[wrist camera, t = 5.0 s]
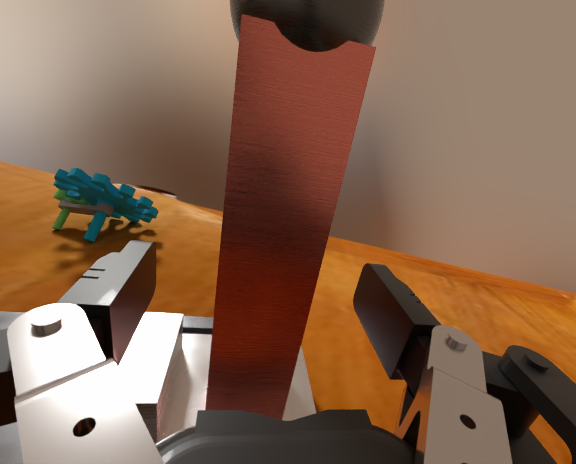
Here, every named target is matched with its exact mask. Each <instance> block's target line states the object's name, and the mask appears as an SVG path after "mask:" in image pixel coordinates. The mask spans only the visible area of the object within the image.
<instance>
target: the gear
mask: <svg viewBox="0 0 576 464" xmlns="http://www.w3.org/2000/svg"><path fill="white" fill-rule="evenodd" d="M54 185H55V186H56V187H57V188H58V190H57V192H56V193H55V195H54V198H56V199H58V200H60V201H61V202H60V204H59V206H58V207H59V208H61V209H62V211H61V213H60V214H59V216H58V218H57V220H56V222H55V223H54V225H53V227H52V228H54V229H57V230H61V228H62V226H63V224H64V223H65V221H66V219H67V217H68V215H69V213H70V212H72V213H79V214H87V215H95V216H94V218H93V220H92V222H91V224H90V226H89V228H88V230H87V232H86V234H85V236H84V238H83V239H84V240H86V241H89V242H95V240H96V238H97V236H98V233H99V231H100V229H101V227H102V225H103V223H104V221H105V219H106V217H110V216H111V217H114V218H119V219H120V217H121V215H122V216H124V217H125V218H127V219H128V220H129V221H131V222H139V220H140V219H141V220H143V221H145V222H148V223H150V222H151V220H152V218H156V217H157V214H158V210H157V209H156V208H154V207H151V206H152V204H153V201H151V200H150V199H148V198H146V197H143V196H141V197H140V199H139V200H137V199H134V198H132V197H133V195H134V192H135V189H134V188H132V187H130V186H128V185H125V184H122V185H121V187H120V189H117V188H116V187H115V186H113V185H112V184H111V182H110V178H109V177H108V176H106V175H102V174H98V173H95V174H94V176H93V178H91V177H90V176H88V175H87V174H86V173H85V172H84V171H82V170H81V169H78V168H72V169H71V170H70V172H69V173H68V172H66V171H64V170H61V169H59V170H58V172H57V173H56V175H55V182H54Z"/></svg>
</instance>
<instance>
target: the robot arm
mask: <svg viewBox="0 0 576 464" xmlns="http://www.w3.org/2000/svg"><path fill="white" fill-rule="evenodd" d="M155 286H156V244H155V242H149V241H139V240H131V241H129V243H128V244H127V245H126V246H125V247H124V249H123V250H122V251H121V252H120V253H117V252H112V253H110V254H108V255H106V256H104V257H102V258H100V259H98V260H97V261H96V262H95V263H94V264H93V265H92V266H91V267H90V270H88V271H87V272H86V273H85V274H84V275H83V277H82V278H80V279H79V280H78V281H77V282H76V283H75V284H74V285H73V286H72V287H71V288H70V289H69V291H68V292H67V293H66V294H65V295H64V296H63V297H62V298H61V299H60V300H59V301H58V302H57V303H56V304H50V305H46V306H42V307H38V308H35V309H33V310H30V311H28V312H26V313H24V314H23V315H21V316H19V317H18V318H17V319H15V320H14V321H13V322H12V323H11V325H10V326H9V327H8V329H3V330H0V426H4V425H8V424H12V423H15V422H17V423H18V430H19V437H20V444H21V450H22V457H23V464H557V463H556V462H555V461H554V459H553V458H552V457H551V456H550V454H549V453H548V452H547V451H546V449H545V448H544V447H543V446H542V444H541V443H540V442H539V441H538V440H537V438H536V437H535V436H534V435H533V433H532V432H531V431H530V430H529V427H530V426H531V424H532V423H533V422H534V420H535V419H536V418H537V417H538V415H539V414H541V415H542V417H543V418H544V419H545V420H546V421H547V422H548V423H549V424H550V426H551V427H552V428H553V429H554V430H555V431H556V432H557V434H558V435H559V436H560V437H561V438H562V439H563V440H564V442H565V443H566V444H567V446H568V448H569V450H570V452H571V455H572V464H576V384H575V383H574V382H573V381H572V380H571V379H570V378H569V377H567V376H566V375H565V374H564V373H563V372H562V371H561V370H560V369H559V368H558V367H556V366H555V365H554V364H553V363H552V362H551V361H549V360H548V359H546V358H545V357H543V356H542V355H540V354H538V353H536V352H534V351H532V350H530V349H528V348H525V347H521V346H516V345H512V346H509V347H508V348H507V350H506V351H505V353H504V355H503V356H502V357H501V356H497V355H494V354H490V353H487V352H483V351H482V350H481V348H480V347H479V345H478V344H477V343H476V342H475V341H474V340H473V339H472V338H471V337H470V336H468V335H467V334H465V333H464V332H462V331H460V330H458V329H455V328H453V327H450V326H445V325H441V324H440V323H439V322H438V321H437V319H436V318H435V317H434V316H433V315H432V314H431V312H430V311H429V310H428V309H427V308H426V307H425V305H424V304H423V303H421V301H420V300H419V298H418V297H417V296H415V294H414V293H413V292H412V290H411V289H410V288H409V287H408V286H407V285H406V284H404V283H403V282H401V281H400V280H399V279H397V278H396V277H395V276H394V275H393V273H392V272H391V271H390V270H389V269H388V267H387V266H385V265H379V264H369V263H367V264H365V265H364V267H363V269H362V272H361V275H360V278H359V281H358V284H357V287H356V291H355V294H354V299H353V305H354V309H355V312H356V314H357V316H358V318H359V320H360V322H361V324H362V325H363V327H364V329H365V331H366V333H367V335H368V337H369V339H370V341H371V343H372V345H373V347H374V349H375V351H376V353H377V355H378V357H379V359H380V361H381V363H382V365H383V367H384V369H385V371H386V373H387V375H388V377H389V379H394V380H405V381H406V383H407V384H406V386H405V388H404V390H403V394H402V398H401V403H400V407H399V412H398V417H397V421H396V426H395V430H394V434H392V433H390V432H388V431H386V430H384V429H382V428H379V427H377V426H374V425H372V424H371V422H370V419H369V416H368V414H367V411H366V410H325V411H322V412H318V413H315V414H312V415H308V416H305V417H302V418H298V419H295V420H291V421H284V420H280V419H276V418H272V417H268V416H264V415H260V414H256V413H252V412H248V411H244V410H198V413H197V419H196V425H195V426H193V427H190V428H186V429H184V430H181V431H179V432H176V433H174V434H172V435H170V436H169V437H167V438H165V439H163V440H161V441H160V442H158V443H157V444H154V442H153V439H152V437H151V435H150V433H149V431H148V429H147V427H146V425H145V423H144V421H143V419H142V417H141V415H140V413H139V411H138V408H137V406H136V404H135V402H134V400H133V398H132V396H131V394H130V392H129V390H128V388H127V386H126V384H125V382H124V380H123V378H122V375H121V373H120V371H119V369H118V366H119V364H120V362H121V360H122V358H123V356H124V354H125V352H126V350H127V348H128V346H129V344H130V342H131V340H132V338H133V336H134V334H135V332H136V330H137V328H138V326H139V324H140V322H141V320H142V317H143V315H144V313H145V311H146V309H147V307H148V305H149V303H150V301H151V299H152V297H153V294H154V291H155Z"/></svg>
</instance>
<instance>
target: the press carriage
mask: <svg viewBox="0 0 576 464" xmlns="http://www.w3.org/2000/svg"><path fill="white" fill-rule="evenodd" d="M230 7H231V8H230V9H231V17H232V22H233V27H234V30H235V33H236V37H237V39H238V41H239V49H238V60H237V70H236V82H235V93H234V103H233V114H232V124H231V135H230V146H229V147H230V148H229V157H228V168H227V179H226V189H225V200H224V211H223V222H222V232H221V243H220V254H219V265H218V276H217V286H216V297H215V308H214V319H213V330H212V335H209V334H184V333H183V314H173V313H154V312H145V313H144V315H143V317H142V320H141V322H140V324H139V326H138V328H137V330H136V332H135V334H134V336H133V338H132V340H131V342H130V344H129V346H128V348H127V350H126V352H125V354H124V356H123V358H122V360H121V362H120V364H119V366H118V369H119V371H120V373H121V375H122V378H123V380H124V382H125V384H126V386H127V388H128V390H129V392H130V394H131V396H132V398H133V400H134V402H135V404H136V406H137V408H138V411H139V413H140V415H141V417H142V419H143V421H144V423H145V425H146V427H147V429H148V431H149V433H150V435H151V437H152V439H153V442H154V444H157V443H158V442H160V441H161V440H163V439H165V438H167V437H169V436H170V435H172V434H174V433H176V432H179V431H181V430H184V429H186V428H190V427H193V426H195V425H196V419H197V413H198V410H244V411H248V412H252V413H256V414H260V415H264V416H268V417H272V418H276V419H280V420H284V421H291V420H295V419H298V418H302V417H305V416H308V415H312V414H315V413H316V409H315V405H314V400H313V396H312V391H311V387H310V382H309V378H308V373H307V369H306V364H305V360H304V355H303V351H302V346H301V343H302V339H303V335H304V331H305V327H306V323H307V319H308V315H309V311H310V307H311V303H312V299H313V295H314V291H315V287H316V283H317V279H318V275H319V271H320V268H321V264H322V260H323V256H324V252H325V248H326V244H327V240H328V236H329V232H330V228H331V223H332V220H333V216H334V212H335V208H336V204H337V200H338V196H339V192H340V188H341V184H342V180H343V177H344V172H345V168H346V165H347V160H348V157H349V152H350V149H351V145H352V141H353V137H354V133H355V129H356V125H357V121H358V117H359V113H360V109H361V105H362V101H363V97H364V93H365V89H366V86H367V81H368V77H369V74H370V70H371V66H372V62H373V58H374V54H375V50H376V47H373V46H371V45H372V43H373V41H374V39H375V36H376V34H377V31H378V28H379V25H380V22H381V18H382V13H383V8H384V0H230Z"/></svg>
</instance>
